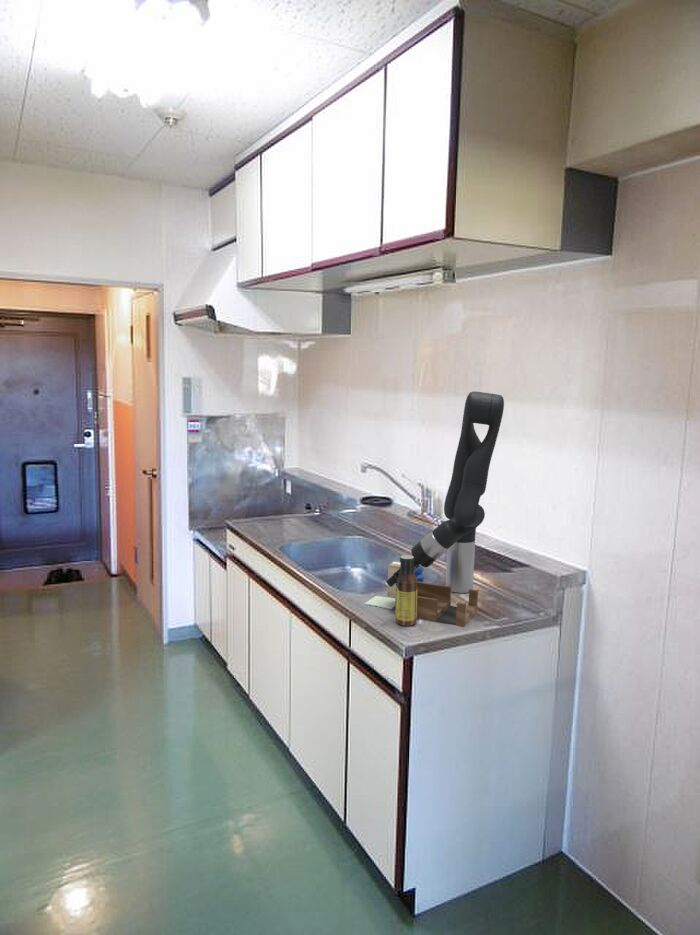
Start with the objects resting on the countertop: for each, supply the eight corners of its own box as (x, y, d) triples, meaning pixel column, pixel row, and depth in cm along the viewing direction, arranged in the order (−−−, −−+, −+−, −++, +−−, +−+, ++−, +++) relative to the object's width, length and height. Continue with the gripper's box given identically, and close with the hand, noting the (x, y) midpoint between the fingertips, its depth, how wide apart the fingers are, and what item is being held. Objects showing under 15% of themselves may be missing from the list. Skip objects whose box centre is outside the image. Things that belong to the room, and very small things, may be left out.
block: (393, 592, 211) (394, 561, 210) (406, 594, 209) (407, 563, 208) (387, 596, 206) (388, 565, 205) (401, 598, 204) (402, 567, 203)
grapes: (433, 597, 218) (434, 561, 217) (416, 600, 215) (417, 563, 213) (412, 587, 228) (413, 553, 227) (396, 590, 225) (397, 555, 223)
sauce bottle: (403, 617, 198) (405, 552, 195) (420, 622, 194) (423, 556, 191) (390, 623, 193) (392, 556, 190) (408, 628, 189) (410, 560, 186)
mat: (375, 596, 217) (375, 595, 217) (401, 601, 213) (401, 599, 213) (364, 604, 209) (364, 603, 209) (391, 609, 205) (391, 608, 205)
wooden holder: (412, 600, 214) (413, 580, 213) (477, 610, 205) (478, 590, 205) (395, 614, 200) (396, 593, 199) (464, 626, 191) (465, 604, 191)
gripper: (429, 534, 209) (392, 567, 215) (414, 544, 196) (375, 578, 202) (444, 553, 207) (407, 585, 214) (431, 563, 194) (391, 597, 201)
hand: (391, 581), depth 208 cm, fingers closed on block, 5 cm apart
